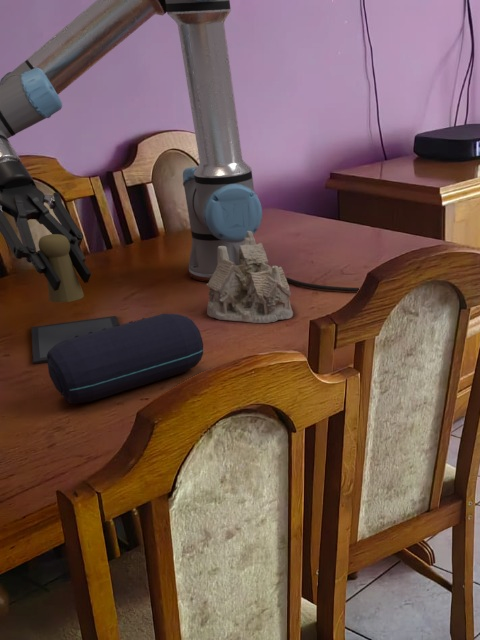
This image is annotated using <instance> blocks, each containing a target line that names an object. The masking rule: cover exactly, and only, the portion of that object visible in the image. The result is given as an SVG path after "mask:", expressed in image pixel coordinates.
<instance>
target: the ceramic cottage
mask: <svg viewBox="0 0 480 640" xmlns="http://www.w3.org/2000/svg"><path fill="white" fill-rule="evenodd" d="M238 256H239V258H238V261H239V263H240V265H237V266H236V265H235V263H233V262H231V261H229V256H228V253H227V248H226V247H225V246H219V247H218V259H217V260H218V265H217V268H216V270H215V272H214V274H212V277H211V279H210V280H209V282H207V283H206V286H207V288H209V290H208V299H209V301H208V302H207V303H206V306H207V308H206V311H207V312H206V315H208V316H209V317H210V318H213V319H216V320H219V321H233V322H244V323H253V324H270V323H274V322H278V321H281V320H282V321H283V320H288V319H289V320H290V319H291V318H292V317H293V316H294V311H293V308H292V306H291V301H290V296H291V295H292V292H291V290H290V289H291V288H290V285H289V282H287V280H286V276H285V272H284V270H283V268H282V266H279V267H278V265H272V266H271V265H269V259H268V255H267V253H266V251H265V248H264V245H263V243H262V242H259V243H257V242H256V240H255V236H254V235H253V233H252V232H251V231H247V237H245V238H244V245H241V246H239V254H238Z"/></svg>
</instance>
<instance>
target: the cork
mask: <svg viewBox="0 0 480 640" xmlns="http://www.w3.org/2000/svg"><path fill="white" fill-rule="evenodd" d="M38 249H39V250H42V252H43V253H44V255H45V256H46V258H47V259H48V261H49V263H50V264H51V266H52V267H53V269H54V271H55V272H56V274H57V275H58V277H59V278H60V280H61V283H60V286H59V289H58V290H56V291H54V289H53V288H52V286H51V285H50V283H49V282H48V280H47V279H46V280H47V289H48V297H49V298H48V299H49V301H50V302H53V303H70V302H75V301H79V300H81V299H83V298H84V297H85V293H84V291H83V289H82V286H81V283H80V281H79V280H80V279H79V278H78V275H77V271H76V269H75V268H74V266H73V264H72V261H71V259H70V256H69V251H70V243H69V240H68V239H67V238H66V237H65V236H64V235H60V234H52V233H51V234H50V233H49V234H45V235H43V236H41V237H40V238H39V240H38Z"/></svg>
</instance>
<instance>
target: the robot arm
mask: <svg viewBox="0 0 480 640" xmlns="http://www.w3.org/2000/svg"><path fill="white" fill-rule="evenodd" d="M231 11H232V9H231V1H230V0H95V1H94V2H93V3H92V4H91V5H89V6H88V7H87V8H86V9H84V10H83V11H82V12H81V13H80V14H79V15H77V16H76V17H75V18H74V19H72V20H71V21H70V22H69V23H67V24H66V26H64V27H63V28H62V29H61V30H59V31H57V33H56V34H55V35H54V36H52V37H51V38H50V39H49V40H48V41H46V42H45V43H44V44H43V45H42V46H40V47H39V48H38V49H37V50H36V51H35V52H33V53H32V54H31V55H30V56H28V57H27V58H26V60H25V61H23V62H21V64H19V65H18V66H17V67H16V68H14V69H13V70H12V71H9V72H7V73H6V74H4V75H3V76H2V78H1V79H0V233H1V236H2V237H3V239H4V240H5V242H6V244H7V246H8V247H9V249H10V251H11V252H12V253H13V256H14V258H16V259H18V260H21V259H25V261H26V262H27V263H31V264H32V266H33V267H34V269H35V270H36V272H37V273H38V274H40V275H41V274H43V276H44V277H45V279H46V280H48V282H49V283H50V285H51V286H52V288H53V289H54V291H56V290H58V289H59V286H60V283H61V280H60V278H59V277H58V275H57V274H56V272H55V271H54V269H53V267H52V266H51V264H50V263H49V261H48V259H47V258H46V256H45V255H44V253H43V252H42V250H40V249H39V250H37V248H36V243H35V241H34V238H33V235H32V232H31V228H30V225H29V222H28V221H29V220H35V221H36V222H38V224H39V225H43V227H45V228H46V229H47V230H48V231H49V233H51V234H60V235H64V236H65V237H66V238H67V239H68V240H69V243H70V251H69V256H70V259H71V261H72V264H73V267H74V269H75V272H76V273H77V274H78V276H79V277H80V279H81V280H82V282H83V284H87V283H89V281H90V278H91V277H92V272H91V271H90V269H89V268H88V266H87V265H86V256H85V254H84V252H83V251H82V250H81V248H80V246H81V245H82V243H83V242H82V241H83V238H84V234H83V232H82V231H81V229H80V228H79V226H78V225H77V223H76V222H75V221H74V219H73V218H72V216H71V214H70V213H69V211H68V209H67V208H66V207H65V205H64V204H63V201H62V197H61V194H60V193H59V192H57V191H56V192H55V191H54V192H53V193H52V194H45V193H44V192H43V191H42V190H40V189H39V188H38V187H37V185H36V182H35V180H34V178H33V177H32V175H31V174H30V172H29V171H28V169H27V168H26V166H25V165H24V164H23V161H22V160H21V158H20V156H19V155H18V153H17V152H16V150H15V149H14V146H13V145H12V144H11V142H10V140H9V138H12V137H14V136H16V135H17V134H18V133H20V132H23V131H24V130H27V129H28V128H30V127H32V126H34V125H35V124H38V123H40V122H42V121H44V120H45V119H50V118H51V117H52V116H53V115H54V114H56V113H57V112H59V111H61V110H62V109H63V102H62V100H61V98H60V96H59V94H60V93H62V92H63V91H64V90H65V89H67V88H68V87H70V86H71V85H72V84H73V83H74V82H75V81H76V80H78V79H79V78H80V77H81V76H82V75H83V74H85V73H86V72H87V71H89V69H91V68H92V67H93V66H94V65H96V64H97V63H98V62H99V61H100V60H102V59H103V58H104V57H105V56H107V54H110V52H112V51H113V50H114V49H115V48H116V47H117V46H118V45H120V44H121V43H122V42H123V41H125V40H126V39H127V38H128V37H130V36H131V35H132V34H133V33H135V31H136V30H138V29H139V28H140V27H141V26H143V25H144V24H145V23H146V22H148V21H149V20H150V19H151V18H153V16H155V15H156V16H157V15H158V16H164V15H166V13H167V15H168V16H169V17H170V18H171V19H172V20H173V21H174V22H175V23H176V25H177V28H178V35H179V41H180V49H181V54H182V60H183V61H182V62H183V66H184V73H185V79H186V85H187V91H188V96H189V97H188V99H189V104H190V111H191V116H192V123H193V130H194V136H195V142H196V148H197V154H198V160H199V163H198V165H197V166H193V167H192V166H191V167H187V168H185V169H184V170H183V171H182V186H183V188H184V195H185V201H186V206H187V214H188V219H189V220H188V221H189V226H190V232H191V233H190V234H191V238H192V240H191V241H192V242H191V248H190V254H189V255H190V256H189V261H188V273H189V276H190V278H192V279H193V280H197V281H201V282H207V283H209V280H210V279H211V277H212V274H214V272H215V270H216V268H217V265H218V260H217V259H218V247H219V246H225V247H226V248H227V253H228V256H229V261H231V262H233V263H235V265H236V266H237V265H240V263H239V261H238V258H239V256H238V254H239V246H241V245H244V238H245V237H247V231H251V232H252V233H253V236H254V235H255V234H256V233H257V232H258V230H259V229H260V226H261V223H262V221H263V220H262V219H263V208H262V204H261V201H260V199H259V196H258V195H257V193H256V192H255V187H254V179H253V172H252V167H251V166H250V165H249V164H248V163H247V162H246V161H244V159H243V155H242V153H243V152H242V146H241V137H240V130H239V123H238V116H237V108H236V101H235V93H234V86H233V78H232V70H231V64H230V63H231V62H230V56H229V49H228V41H227V33H226V25H225V21H226V19H227V17H228V16H229V14H230V13H231ZM45 204H47V206H48V207H47V206H46V205H45ZM49 209H50V210H52V212H53V214H54V216H55V217H54V216H53V214H51V212H50V210H49ZM4 213H5V214H7V215H8V216H11V217H12V218H13V220H14V224H15V226H16V228H17V231H18V233H19V236H18V234H17V233H16V230H14V228H13V226H12V225H11V223H10V221H9V219H8V218H7V216H6V215H5V214H4ZM19 237H20V238H19ZM285 277H286V276H285ZM286 280H287V283H289V284H293V285H296V286H300V287H305V288H311V289H317V290H324V291H333V292H334V291H337V292H356V293H358V292H357V291H358V290H359V288H360V287H346V286H332V285H322V284H315V283H309V282H304V281H299V280H296V279H292V278H290V277H286ZM48 282H47V283H48Z"/></svg>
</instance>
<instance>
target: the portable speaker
mask: <svg viewBox="0 0 480 640" xmlns="http://www.w3.org/2000/svg"><path fill="white" fill-rule="evenodd" d="M203 355H204V342H203V337H202V334H201V331H200V329H199V327H198V326H197V325H196V323H195V322H194V321H193V320H192V319H191V318H189V317H188V316H186V315H182V314H178V313H161V314H157V315H153V316H149V317H142V318H141V319H138V320H135V321H129V322H127V323H123V324H119V325H116V326H115V327H111V328H108V329H106V328H104V329H103V330H100V331H96V332H90V333H88V334H85V335H81V336H75V337H74V338H70V339H66V340H63V341H61V342H60V343H58V344H56V345H55V346H54V347H53V348H52V349H50V350H49V351H48V354H47V359H48V362H47V370H48V375H49V377H50V380H51V381H52V383H53V385H54V388H55V390H57V392H58V393H59V394H60V395H61V396H62V397H63V398H64V399H65V400H66V402H68V403H69V404H76V405H78V404H85V403H90V402H94V401H98V400H101V399H103V398H106V397H109V396H113V395H116V394H119V393H123V392H126V391H129V390H133V389H136V388H138V387H142V386H144V385H145V386H146V385H148V384H151V383H155V382H158V381H161V380H164V379H167V378H170V377H171V378H172V377H174V376H178V375H180V374H183V373H186V372H187V371H189V370H191V369H193V368H195V367H196V366H197V365H198V364H199V362H201V361H202V357H203Z"/></svg>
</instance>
